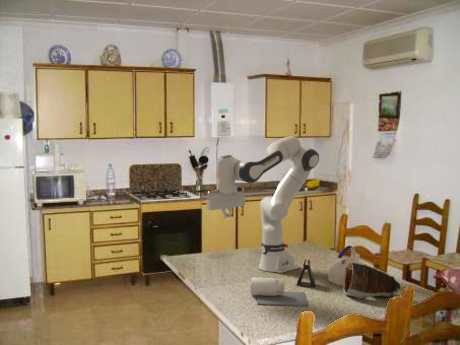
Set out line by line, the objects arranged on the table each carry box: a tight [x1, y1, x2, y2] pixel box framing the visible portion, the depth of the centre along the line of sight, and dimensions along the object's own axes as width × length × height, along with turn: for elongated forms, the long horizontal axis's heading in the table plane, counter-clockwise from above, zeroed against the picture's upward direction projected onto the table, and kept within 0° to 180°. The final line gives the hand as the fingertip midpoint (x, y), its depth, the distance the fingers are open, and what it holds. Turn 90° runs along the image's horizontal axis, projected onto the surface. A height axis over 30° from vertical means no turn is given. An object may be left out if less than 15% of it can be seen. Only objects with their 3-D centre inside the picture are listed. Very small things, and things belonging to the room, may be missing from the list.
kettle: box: [327, 245, 364, 287], centre depth 236 cm, size 20×21×18 cm
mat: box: [256, 291, 309, 307], centre depth 208 cm, size 22×16×1 cm
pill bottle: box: [249, 276, 285, 296], centre depth 210 cm, size 8×8×15 cm
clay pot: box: [342, 262, 402, 300], centre depth 214 cm, size 15×15×25 cm
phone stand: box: [296, 259, 316, 288], centre depth 228 cm, size 9×6×12 cm, turn 76°
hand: (226, 217), depth 224 cm, fingers closed
